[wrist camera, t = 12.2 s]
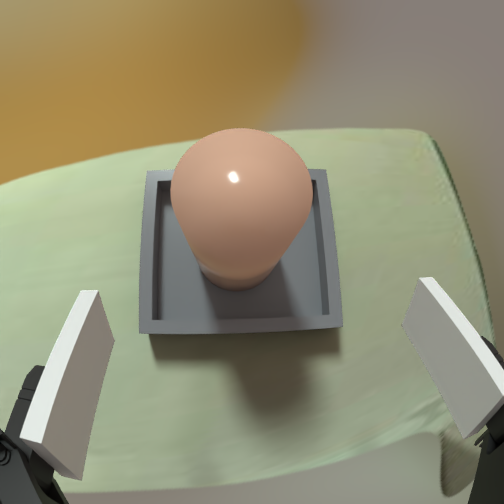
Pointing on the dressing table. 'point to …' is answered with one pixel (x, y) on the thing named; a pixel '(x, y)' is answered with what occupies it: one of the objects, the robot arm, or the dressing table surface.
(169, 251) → the tray
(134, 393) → the dressing table surface
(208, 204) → the peach domed cylinder
